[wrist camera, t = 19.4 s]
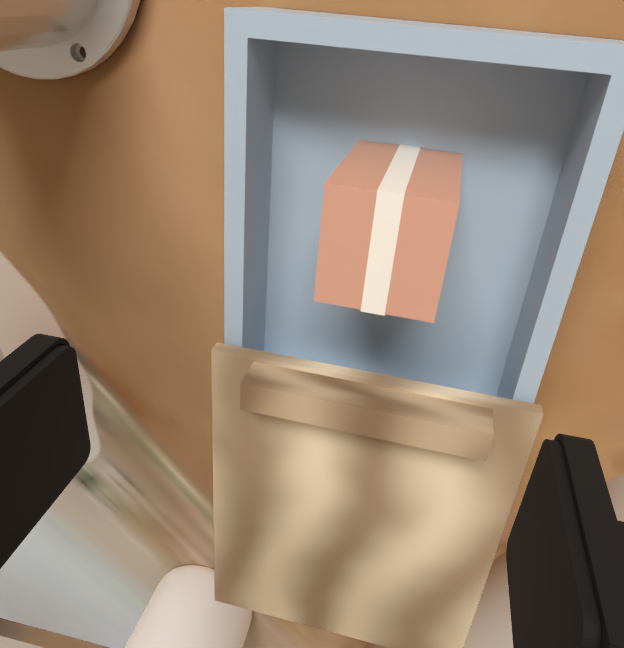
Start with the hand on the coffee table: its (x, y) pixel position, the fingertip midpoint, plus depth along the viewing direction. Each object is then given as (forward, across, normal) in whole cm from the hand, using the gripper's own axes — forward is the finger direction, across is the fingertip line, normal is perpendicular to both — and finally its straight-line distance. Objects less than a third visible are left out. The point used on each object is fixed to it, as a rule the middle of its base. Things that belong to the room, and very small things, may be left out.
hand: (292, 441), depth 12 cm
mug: (+22, +11, +40) cm, 47 cm away
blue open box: (+21, -1, +3) cm, 22 cm away
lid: (+16, -1, +19) cm, 25 cm away
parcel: (+20, -1, +1) cm, 21 cm away
